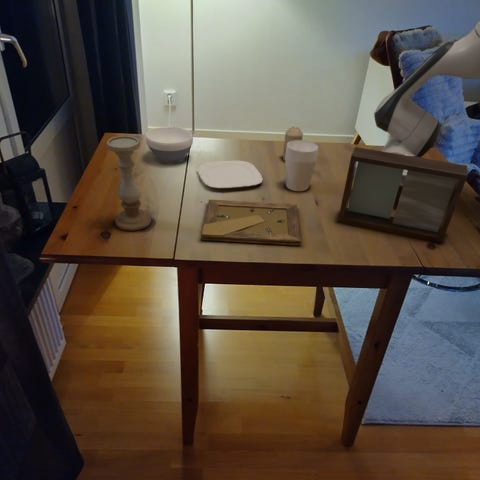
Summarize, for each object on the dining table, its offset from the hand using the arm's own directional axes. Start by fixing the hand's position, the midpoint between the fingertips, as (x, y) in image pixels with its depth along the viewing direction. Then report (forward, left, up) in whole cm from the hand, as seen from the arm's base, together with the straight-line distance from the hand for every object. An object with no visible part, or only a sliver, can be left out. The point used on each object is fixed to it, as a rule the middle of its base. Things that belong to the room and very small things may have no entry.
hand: (388, 185), depth 119 cm
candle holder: (+65, +8, -9) cm, 66 cm away
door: (+4, +2, -7) cm, 8 cm away
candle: (+21, -36, -9) cm, 42 cm away
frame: (-1, +6, -8) cm, 11 cm away
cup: (+21, -16, -9) cm, 28 cm away
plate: (+41, -20, -9) cm, 46 cm away
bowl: (+60, -33, -9) cm, 69 cm away
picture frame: (+35, +7, -9) cm, 37 cm away
